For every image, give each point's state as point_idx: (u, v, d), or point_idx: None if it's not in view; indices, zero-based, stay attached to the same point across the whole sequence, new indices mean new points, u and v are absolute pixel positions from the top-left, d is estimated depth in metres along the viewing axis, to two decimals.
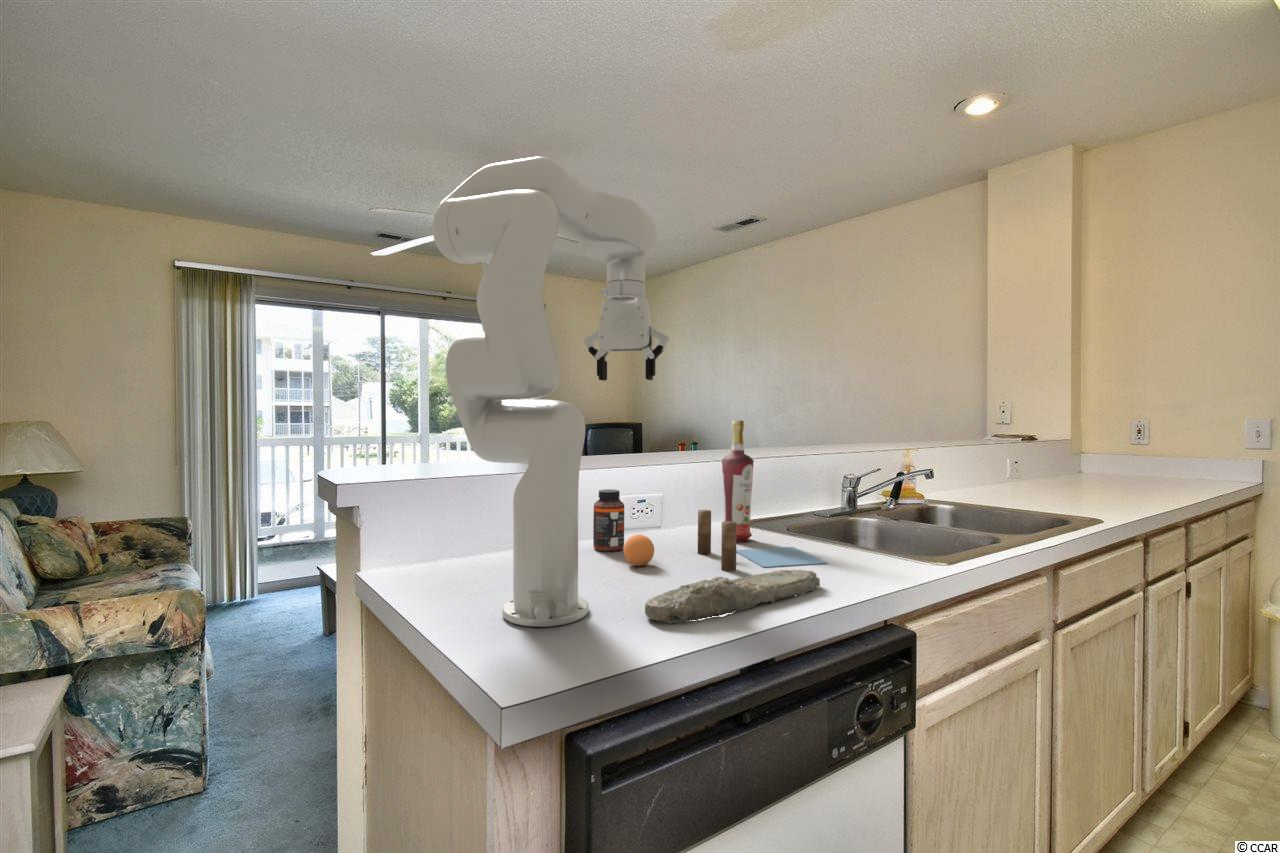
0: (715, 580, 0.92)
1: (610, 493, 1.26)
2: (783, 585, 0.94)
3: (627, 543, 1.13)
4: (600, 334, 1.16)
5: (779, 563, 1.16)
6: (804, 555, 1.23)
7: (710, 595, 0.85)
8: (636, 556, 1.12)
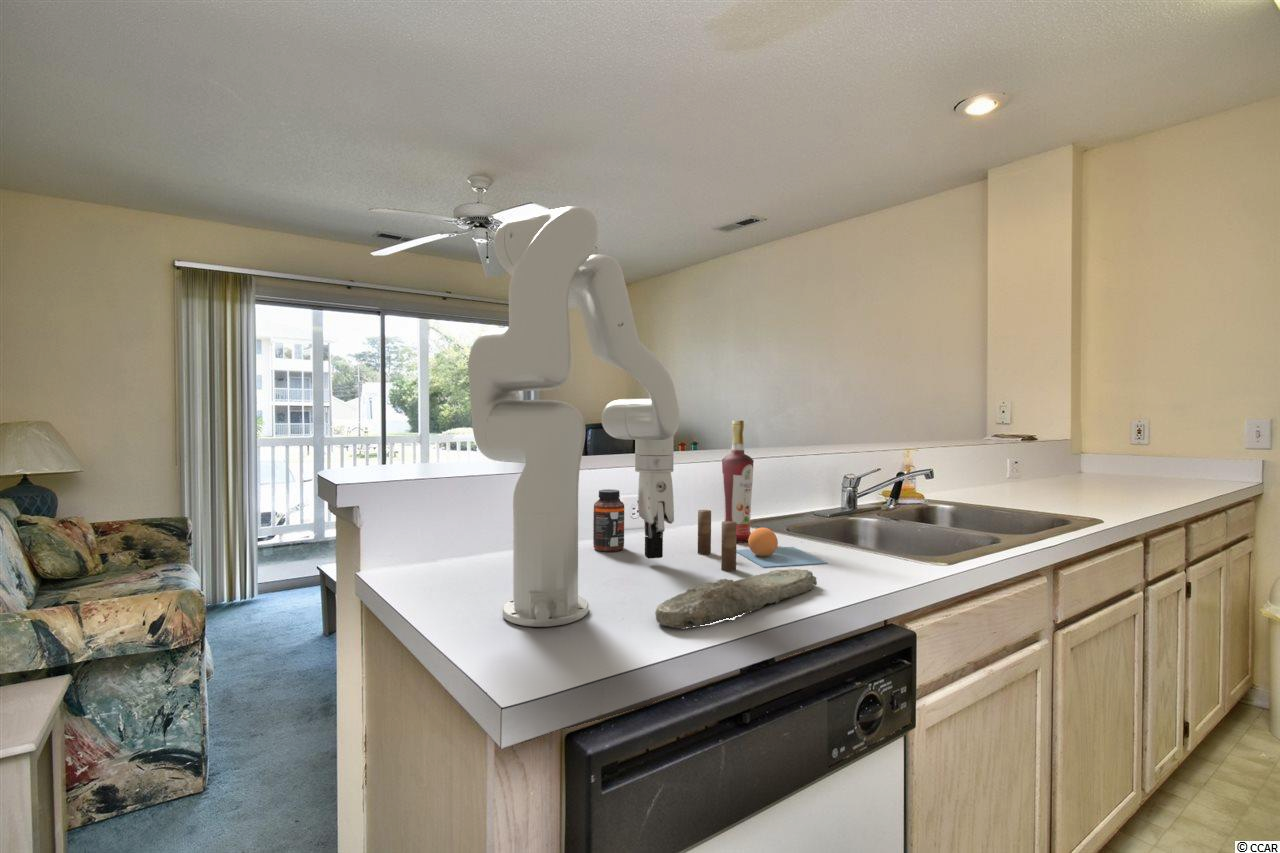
0: (721, 583, 0.90)
1: (610, 493, 1.26)
2: (786, 586, 0.94)
3: None
4: (673, 509, 1.12)
5: (779, 563, 1.16)
6: (804, 555, 1.23)
7: (722, 598, 0.83)
8: (772, 539, 1.20)
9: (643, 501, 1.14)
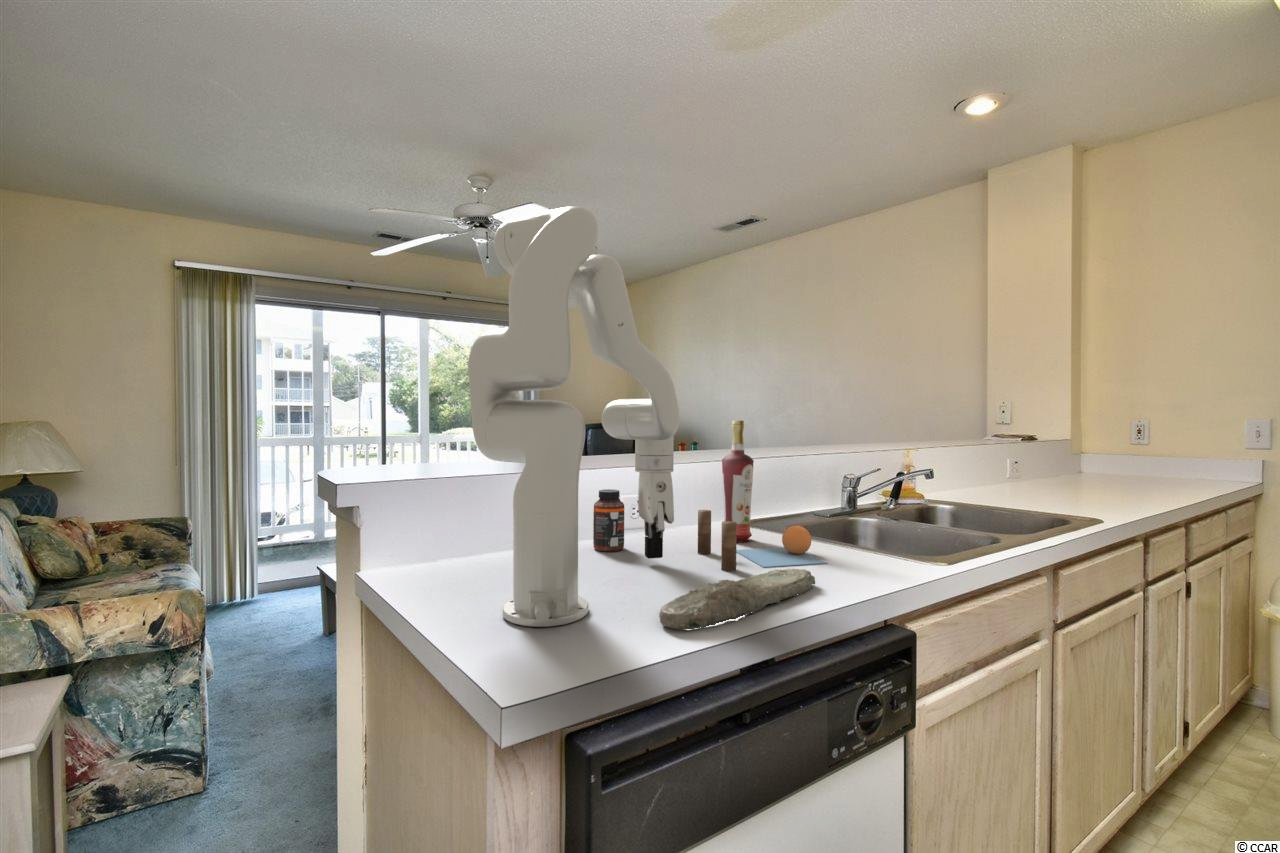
0: (723, 583, 0.90)
1: (610, 493, 1.26)
2: (786, 585, 0.94)
3: (787, 549, 1.24)
4: (673, 509, 1.12)
5: (779, 563, 1.16)
6: (804, 555, 1.23)
7: (726, 599, 0.83)
8: (803, 548, 1.22)
9: (643, 501, 1.14)
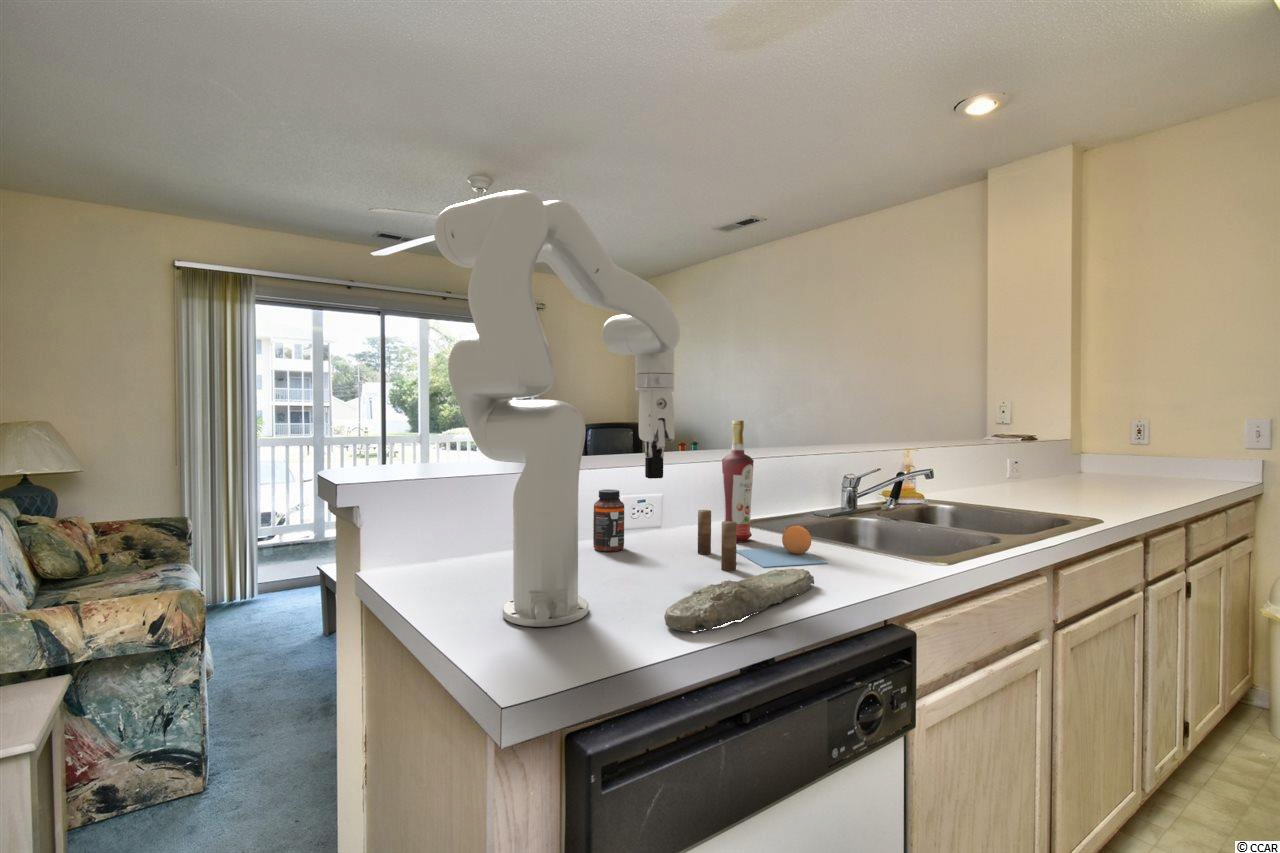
0: (726, 584, 0.90)
1: (610, 493, 1.26)
2: (787, 586, 0.94)
3: (787, 549, 1.24)
4: None
5: (779, 563, 1.16)
6: (804, 555, 1.23)
7: (731, 600, 0.82)
8: (803, 548, 1.22)
9: (643, 420, 1.13)
